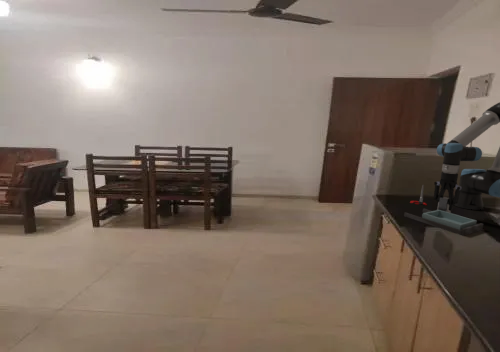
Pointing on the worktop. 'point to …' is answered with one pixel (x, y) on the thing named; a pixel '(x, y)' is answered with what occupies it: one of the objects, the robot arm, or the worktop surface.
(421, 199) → the tow hook
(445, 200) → the dark grey block
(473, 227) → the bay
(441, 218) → the crate
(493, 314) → the worktop surface
